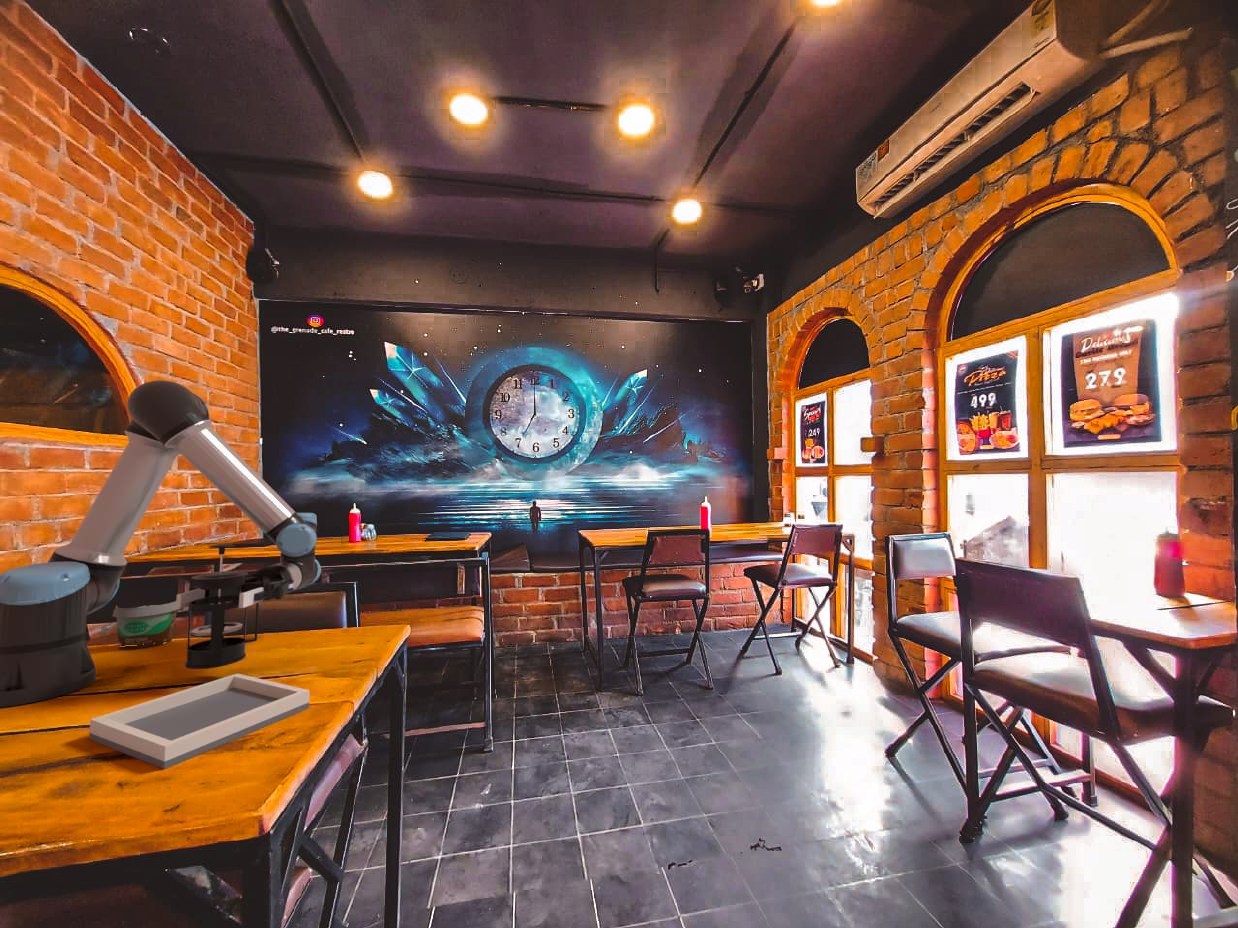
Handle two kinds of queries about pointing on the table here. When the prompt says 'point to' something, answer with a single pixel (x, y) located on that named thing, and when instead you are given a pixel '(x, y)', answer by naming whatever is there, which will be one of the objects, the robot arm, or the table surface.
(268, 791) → the table surface
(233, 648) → the french press
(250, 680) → the serving tray
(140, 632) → the food container
